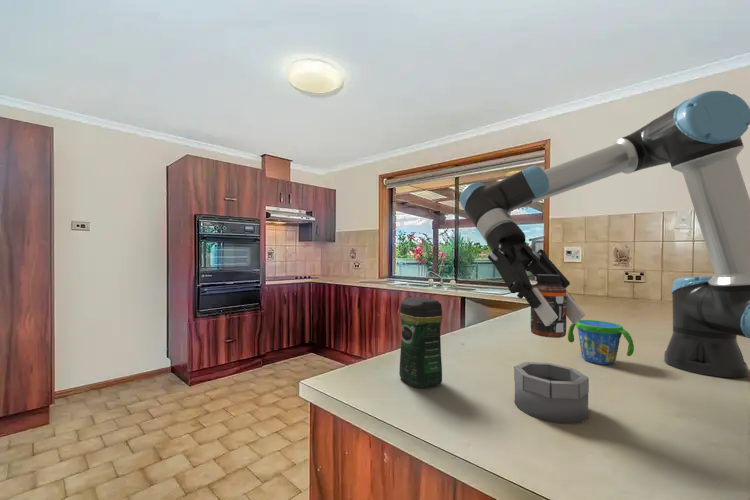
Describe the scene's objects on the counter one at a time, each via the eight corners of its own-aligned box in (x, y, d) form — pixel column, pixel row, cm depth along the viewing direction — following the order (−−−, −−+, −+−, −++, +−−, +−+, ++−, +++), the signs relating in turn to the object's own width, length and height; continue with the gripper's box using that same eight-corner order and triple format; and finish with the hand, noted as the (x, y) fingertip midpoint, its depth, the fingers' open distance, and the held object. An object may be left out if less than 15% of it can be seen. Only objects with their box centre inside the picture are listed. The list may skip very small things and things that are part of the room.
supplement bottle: (571, 339, 59) (571, 275, 59) (535, 337, 60) (535, 274, 60) (560, 332, 65) (560, 273, 65) (527, 330, 66) (527, 273, 66)
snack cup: (643, 367, 85) (643, 327, 85) (616, 373, 81) (616, 330, 81) (583, 351, 99) (583, 317, 99) (558, 355, 95) (558, 319, 95)
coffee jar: (448, 385, 72) (449, 299, 72) (418, 392, 68) (418, 301, 68) (422, 371, 80) (422, 294, 81) (393, 376, 77) (394, 295, 77)
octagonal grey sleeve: (566, 395, 67) (566, 362, 67) (603, 425, 55) (603, 385, 55) (505, 393, 68) (506, 361, 68) (529, 422, 56) (529, 383, 56)
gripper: (524, 246, 80) (589, 329, 65) (458, 244, 74) (512, 336, 58) (542, 222, 75) (617, 305, 60) (473, 218, 69) (537, 310, 53)
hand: (565, 320), depth 59 cm, fingers closed on supplement bottle, 6 cm apart
